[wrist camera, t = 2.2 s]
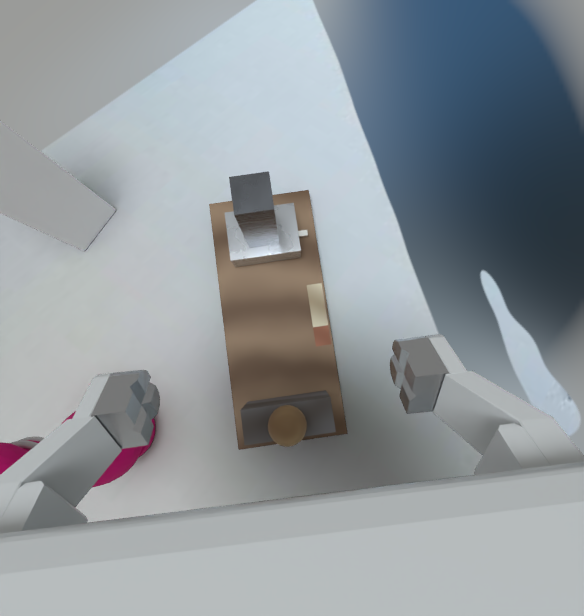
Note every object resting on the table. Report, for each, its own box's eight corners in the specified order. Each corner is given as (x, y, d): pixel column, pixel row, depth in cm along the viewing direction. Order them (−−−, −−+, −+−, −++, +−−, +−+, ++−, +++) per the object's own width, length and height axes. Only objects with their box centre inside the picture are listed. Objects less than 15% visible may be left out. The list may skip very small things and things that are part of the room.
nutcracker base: (345, 429, 34) (363, 460, 25) (241, 445, 34) (220, 481, 25) (308, 196, 37) (312, 146, 28) (212, 210, 37) (185, 164, 28)
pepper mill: (115, 382, 35) (-128, 429, 15) (173, 414, 34) (3, 507, 14) (79, 444, 34) (-227, 582, 14) (138, 478, 33) (-92, 669, 14)
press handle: (310, 256, 34) (317, 216, 24) (235, 266, 34) (208, 231, 24) (303, 211, 35) (307, 153, 24) (229, 222, 35) (201, 168, 24)
